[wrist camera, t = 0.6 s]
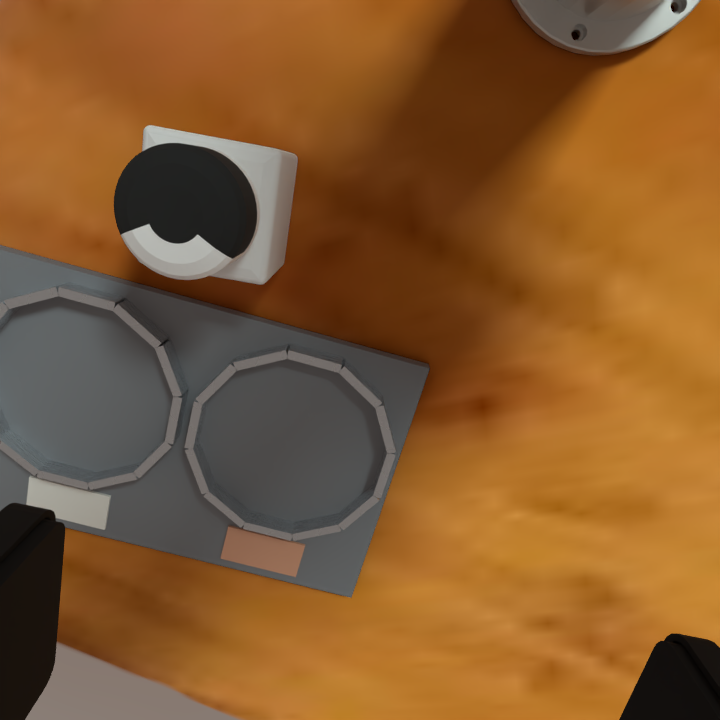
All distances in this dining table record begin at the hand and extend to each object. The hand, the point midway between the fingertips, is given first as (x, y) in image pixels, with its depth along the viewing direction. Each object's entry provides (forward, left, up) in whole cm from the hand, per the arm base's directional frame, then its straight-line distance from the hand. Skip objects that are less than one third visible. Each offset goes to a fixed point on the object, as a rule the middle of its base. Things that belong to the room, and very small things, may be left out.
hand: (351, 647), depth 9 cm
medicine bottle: (-3, -9, -31) cm, 32 cm away
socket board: (+14, -9, -30) cm, 35 cm away
